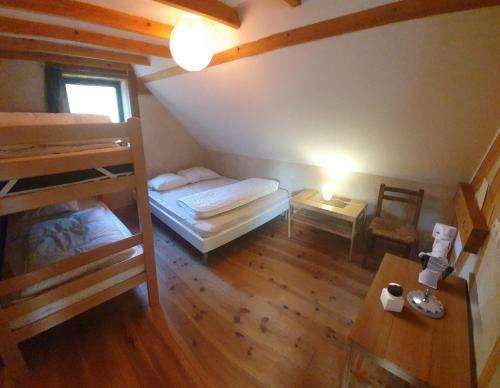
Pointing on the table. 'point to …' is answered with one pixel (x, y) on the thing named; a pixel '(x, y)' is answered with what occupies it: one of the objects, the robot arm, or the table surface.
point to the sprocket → (426, 301)
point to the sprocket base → (423, 311)
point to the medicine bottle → (392, 297)
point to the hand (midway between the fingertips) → (433, 274)
